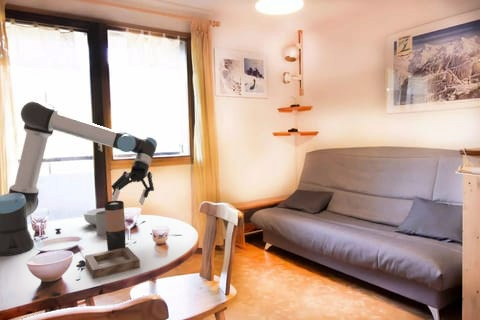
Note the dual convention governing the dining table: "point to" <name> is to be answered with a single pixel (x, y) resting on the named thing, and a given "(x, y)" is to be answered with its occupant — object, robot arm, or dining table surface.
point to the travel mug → (115, 225)
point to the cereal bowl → (92, 215)
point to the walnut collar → (111, 262)
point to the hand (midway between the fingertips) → (126, 202)
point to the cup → (101, 223)
